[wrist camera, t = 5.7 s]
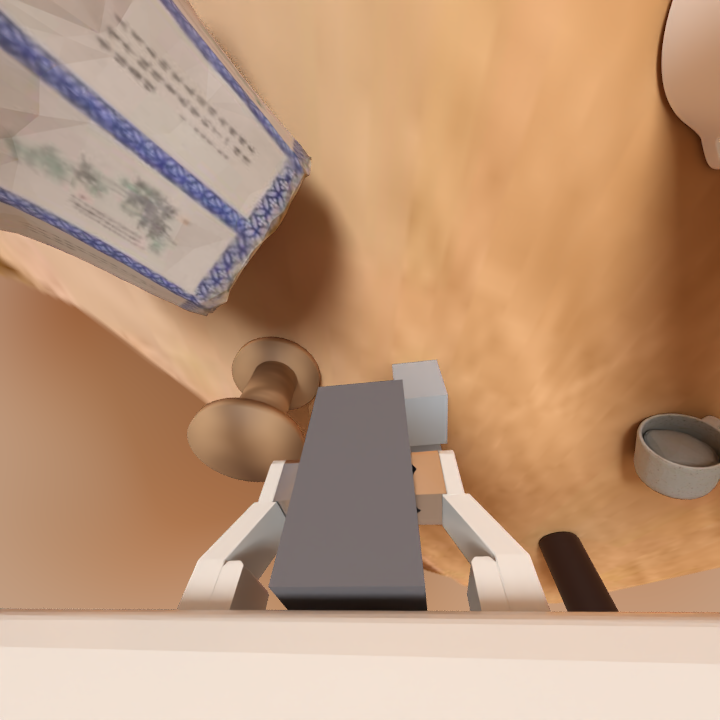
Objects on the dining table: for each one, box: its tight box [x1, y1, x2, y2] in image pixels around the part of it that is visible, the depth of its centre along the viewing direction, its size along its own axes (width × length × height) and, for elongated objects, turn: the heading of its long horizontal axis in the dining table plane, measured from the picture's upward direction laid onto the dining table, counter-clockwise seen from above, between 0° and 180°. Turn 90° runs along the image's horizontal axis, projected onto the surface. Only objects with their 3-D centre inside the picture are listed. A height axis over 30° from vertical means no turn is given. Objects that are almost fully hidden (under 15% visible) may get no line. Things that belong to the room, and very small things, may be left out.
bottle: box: [539, 532, 619, 612], centre depth 47 cm, size 7×7×20 cm
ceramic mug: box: [634, 413, 720, 500], centre depth 36 cm, size 11×8×8 cm
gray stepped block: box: [392, 360, 448, 453], centre depth 37 cm, size 5×19×6 cm, turn 9°
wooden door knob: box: [187, 337, 320, 482], centre depth 31 cm, size 10×10×11 cm
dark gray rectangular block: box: [269, 379, 427, 611], centre depth 10 cm, size 4×4×7 cm
